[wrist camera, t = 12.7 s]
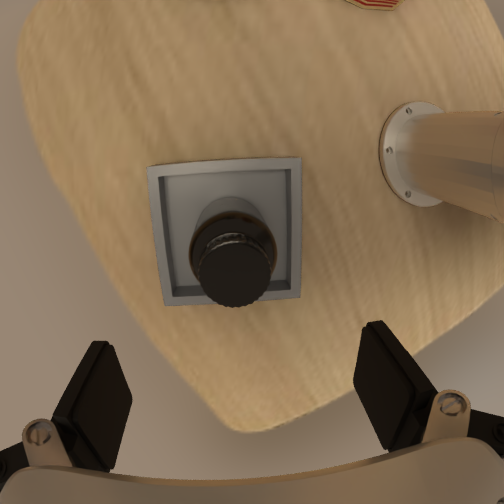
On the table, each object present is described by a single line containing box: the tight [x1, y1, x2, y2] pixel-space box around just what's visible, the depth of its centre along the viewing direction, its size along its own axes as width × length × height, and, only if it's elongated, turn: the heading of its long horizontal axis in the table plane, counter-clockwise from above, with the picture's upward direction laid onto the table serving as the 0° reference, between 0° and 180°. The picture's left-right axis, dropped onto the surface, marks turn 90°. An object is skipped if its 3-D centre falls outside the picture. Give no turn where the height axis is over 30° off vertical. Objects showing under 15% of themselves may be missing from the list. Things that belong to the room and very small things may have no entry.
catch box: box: [147, 157, 302, 306], centre depth 30 cm, size 14×14×4 cm
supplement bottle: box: [188, 197, 278, 308], centre depth 25 cm, size 7×7×12 cm
